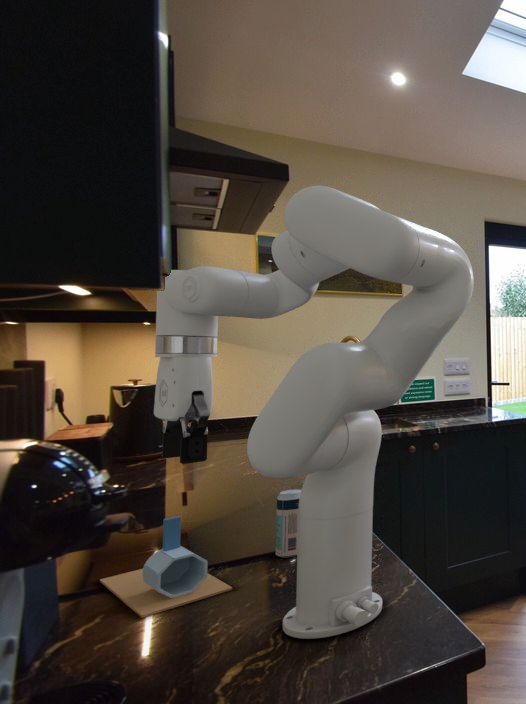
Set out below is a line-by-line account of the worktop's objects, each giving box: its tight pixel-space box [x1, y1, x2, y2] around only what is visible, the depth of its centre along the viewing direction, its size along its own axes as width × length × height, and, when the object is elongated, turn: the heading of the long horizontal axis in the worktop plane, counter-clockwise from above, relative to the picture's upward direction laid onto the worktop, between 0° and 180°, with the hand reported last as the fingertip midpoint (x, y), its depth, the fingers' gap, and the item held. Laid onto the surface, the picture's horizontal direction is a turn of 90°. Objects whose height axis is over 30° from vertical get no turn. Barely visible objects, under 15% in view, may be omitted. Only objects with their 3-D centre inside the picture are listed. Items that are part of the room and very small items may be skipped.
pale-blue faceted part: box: [142, 515, 209, 598], centre depth 84 cm, size 7×6×11 cm
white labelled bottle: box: [275, 488, 302, 559], centre depth 101 cm, size 5×5×12 cm
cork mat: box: [99, 568, 233, 619], centre depth 86 cm, size 22×11×1 cm, turn 57°
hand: (184, 458), depth 83 cm, fingers open, 7 cm apart
